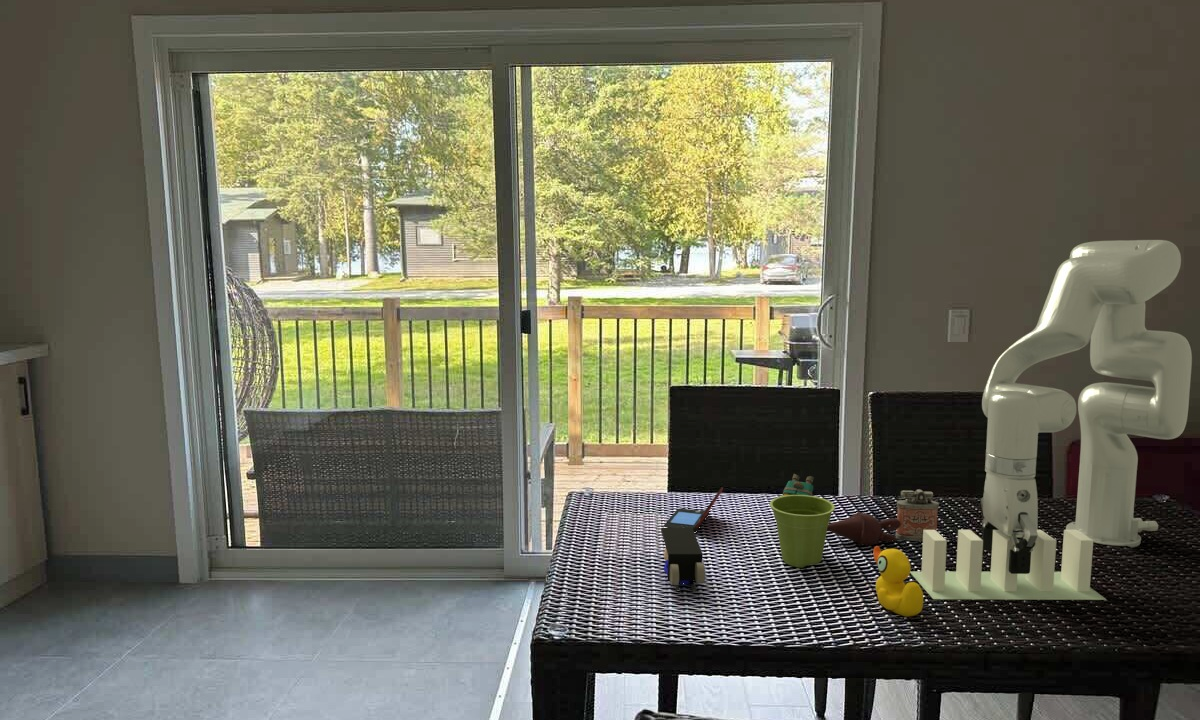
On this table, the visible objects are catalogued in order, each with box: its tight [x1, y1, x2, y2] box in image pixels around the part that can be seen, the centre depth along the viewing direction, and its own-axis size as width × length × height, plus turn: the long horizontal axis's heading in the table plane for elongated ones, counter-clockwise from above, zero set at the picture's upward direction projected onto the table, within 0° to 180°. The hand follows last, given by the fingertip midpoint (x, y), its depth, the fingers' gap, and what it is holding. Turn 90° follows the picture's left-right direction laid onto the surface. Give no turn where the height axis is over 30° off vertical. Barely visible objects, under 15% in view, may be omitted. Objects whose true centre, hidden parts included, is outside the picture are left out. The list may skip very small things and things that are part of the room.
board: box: [910, 570, 1107, 601], centre depth 130 cm, size 28×11×1 cm, turn 87°
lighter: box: [895, 488, 940, 542], centre depth 153 cm, size 8×3×10 cm, turn 84°
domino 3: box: [990, 530, 1021, 591], centre depth 129 cm, size 2×5×9 cm, turn 178°
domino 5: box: [1060, 529, 1094, 591], centre depth 128 cm, size 2×5×9 cm, turn 177°
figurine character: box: [660, 527, 706, 592], centre depth 136 cm, size 7×8×15 cm
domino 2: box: [955, 529, 984, 591], centre depth 129 cm, size 2×5×9 cm, turn 177°
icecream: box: [827, 511, 901, 547], centre depth 150 cm, size 7×8×15 cm
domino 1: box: [921, 530, 948, 591], centre depth 129 cm, size 2×5×9 cm, turn 178°
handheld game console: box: [663, 486, 724, 532], centre depth 164 cm, size 12×11×7 cm
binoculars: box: [781, 473, 814, 496], centre depth 165 cm, size 9×9×10 cm
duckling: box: [873, 545, 924, 618], centre depth 122 cm, size 11×5×10 cm, turn 15°
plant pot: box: [769, 495, 836, 569], centre depth 142 cm, size 12×12×11 cm
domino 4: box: [1026, 529, 1057, 591], centre depth 129 cm, size 2×5×9 cm, turn 177°
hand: (1004, 561), depth 129 cm, fingers open, 9 cm apart
